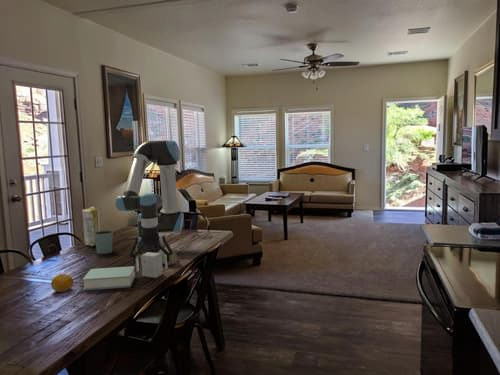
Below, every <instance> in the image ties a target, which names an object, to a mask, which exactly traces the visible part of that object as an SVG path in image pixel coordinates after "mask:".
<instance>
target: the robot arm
mask: <svg viewBox="0 0 500 375" xmlns="http://www.w3.org/2000/svg"><path fill="white" fill-rule="evenodd" d="M180 158H181V156H180V148H179V145H178V144H177V142H176V141H175V140H148V141H145V142H142V143H141V144H140V145H139V146H138V147H136V149H135V150H134V152H133V153H132V155H131V158H130V159H131V167H130V169H129V172H128V177H127V181H126V183H125V187H124V190H123V193H122V195H118V196H117V197H116V198H115V208H116V210H117V211H118V212H135V211H136V212H137V211H138V212H140V213H139V214H137V232H138V233H137V234H138V236H137V235H136V237H135V239H134V240H135V241H134V244H133V245H132V248H131V251H130V252H129V255H128V257H130V258H133V259H132V260H133V265H135V269H136V271H135V272H139V271H140V268H139V267H140V266H139V256H138V255H139V254H145V253H147V252H151V253H158V252H159V251H160V250H162V251H163V252H164V253H165V254H166V255H165V264H164V267H165V271H166V270H168V268H169V265H167V262H169V261H170V259H169V255H171V254H173V251H174V250H173V248H171V245H170V244H169V242H168V240H167V239H166V238H167V237H166V235H165V233H173V234H174V233H180V232H181V231H182V229H183V225H184V218H185V216H184V212H181V209H180V207H178V197H177V194H178V193H177V180H176V166H177V165H178V162H179V161H180ZM151 162H155V163H156V166H157V167H158V169H159V178H160V190H161V191H160V192H161V194H156V193H154V192H153V193H152V192H151V193H150V192H149V193H141V194H140V191H141V187H142V184H143V180H144V176H145V172H146V169H147V166H149V164H150V163H151ZM159 209H160V211H159V212H158V210H159ZM159 233H160V234H161V233H162V234H163V233H164V234H163V235H160V234H159ZM162 242H163V244H164V246H165V247H166V248H165V247H164V246H163V244H162ZM167 250H168V251H169V252H168V251H167ZM134 252H135V253H134Z"/></svg>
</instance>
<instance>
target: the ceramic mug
mask: <svg viewBox="0 0 500 375" xmlns="http://www.w3.org/2000/svg"><path fill="white" fill-rule="evenodd" d="M166 250H167V251H168V249H166ZM172 251H173V254H171V255H169V259H170V261H169V262H167V265H168V266H172V265H174V264H176V263H177V262H178V255H177V252H176V251H174V250H172ZM168 252H169V251H168ZM157 253H161V257H162V265H165V255H166V254H165V253H164V252H163V251H162V250H160V251H158V252H157Z"/></svg>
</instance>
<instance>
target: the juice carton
mask: <svg viewBox="0 0 500 375" xmlns="http://www.w3.org/2000/svg"><path fill="white" fill-rule="evenodd" d="M99 211H100V210H99V209H98V208H95V206H91V207H89V208H84V209H82V224H83V237H84V245H85V246H90V247H94V246H95V247H96V240H95V235H94V233H95V232H98V231H101V226H100V214H99Z"/></svg>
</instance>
